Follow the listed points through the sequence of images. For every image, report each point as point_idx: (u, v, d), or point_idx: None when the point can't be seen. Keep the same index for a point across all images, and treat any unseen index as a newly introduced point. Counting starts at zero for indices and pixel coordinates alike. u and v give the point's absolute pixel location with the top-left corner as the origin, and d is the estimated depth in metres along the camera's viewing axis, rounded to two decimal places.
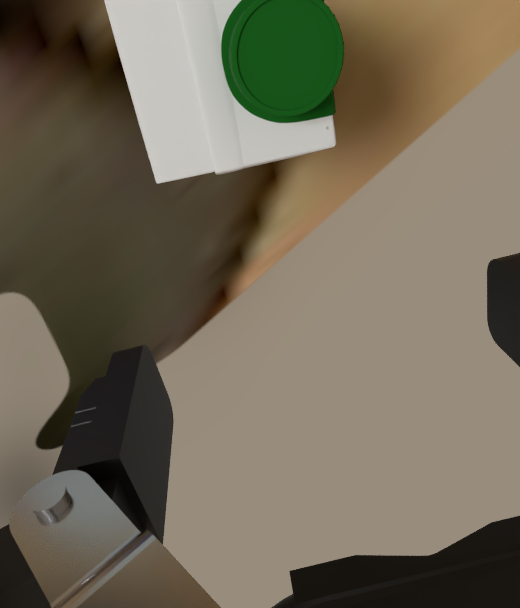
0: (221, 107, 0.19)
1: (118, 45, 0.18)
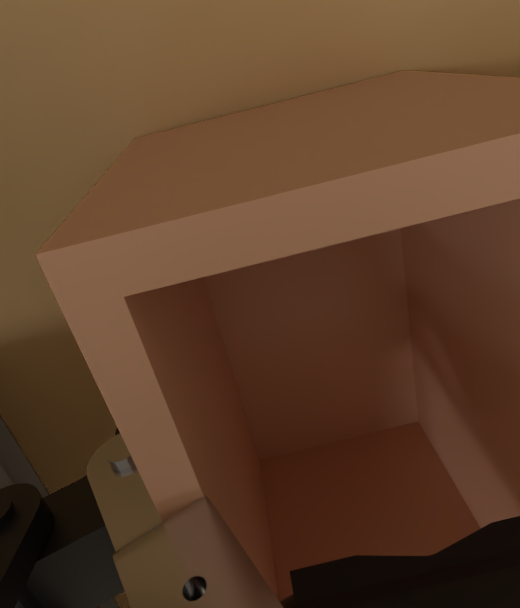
0: None
1: None
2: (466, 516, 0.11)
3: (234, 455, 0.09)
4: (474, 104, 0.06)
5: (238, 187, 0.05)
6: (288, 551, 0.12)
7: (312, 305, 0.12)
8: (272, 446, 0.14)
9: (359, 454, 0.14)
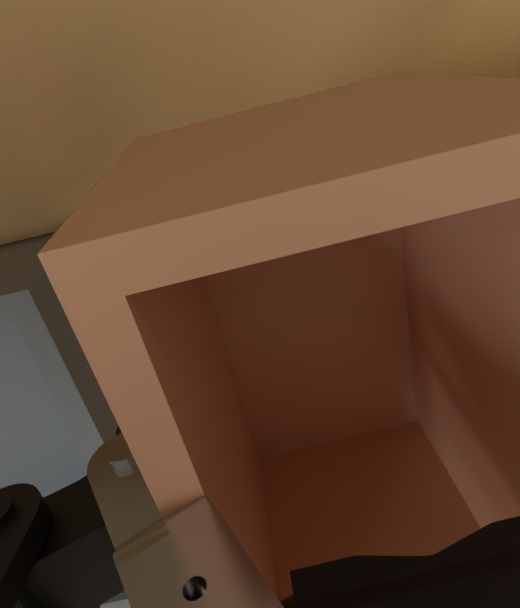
0: None
1: None
2: (465, 515, 0.11)
3: (234, 454, 0.09)
4: (473, 105, 0.06)
5: (238, 187, 0.05)
6: (288, 550, 0.12)
7: (312, 305, 0.12)
8: (271, 445, 0.14)
9: (359, 453, 0.14)
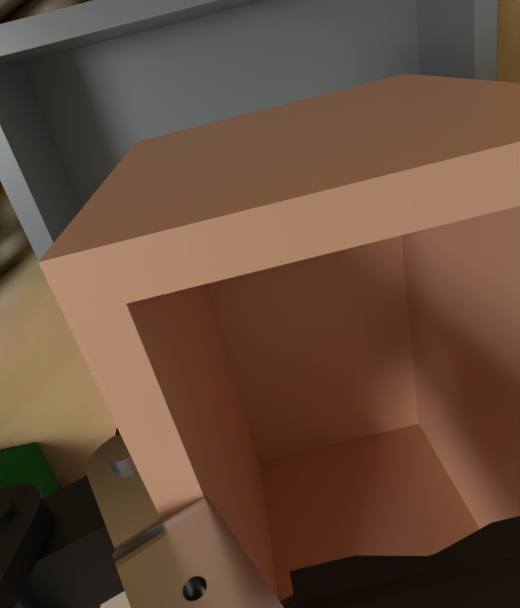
0: None
1: None
2: (466, 518, 0.11)
3: (235, 458, 0.09)
4: (475, 110, 0.06)
5: (239, 195, 0.05)
6: (289, 553, 0.12)
7: (312, 308, 0.12)
8: (272, 448, 0.14)
9: (359, 456, 0.14)
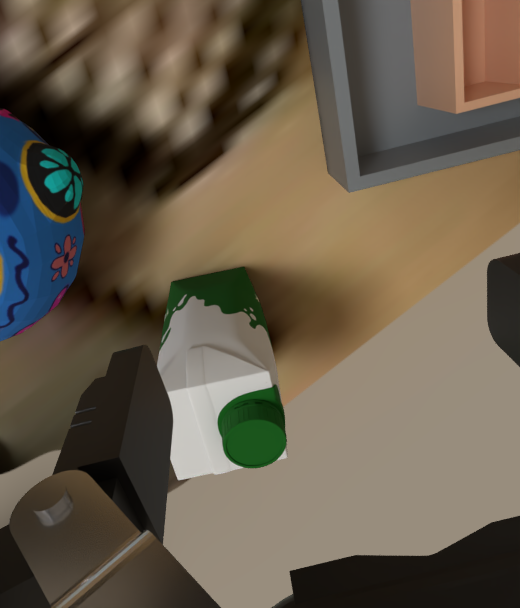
0: (217, 447, 0.32)
1: None
2: (505, 83, 0.36)
3: None
4: None
5: None
6: None
7: None
8: None
9: (465, 87, 0.39)
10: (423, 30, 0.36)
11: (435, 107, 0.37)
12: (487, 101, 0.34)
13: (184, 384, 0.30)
